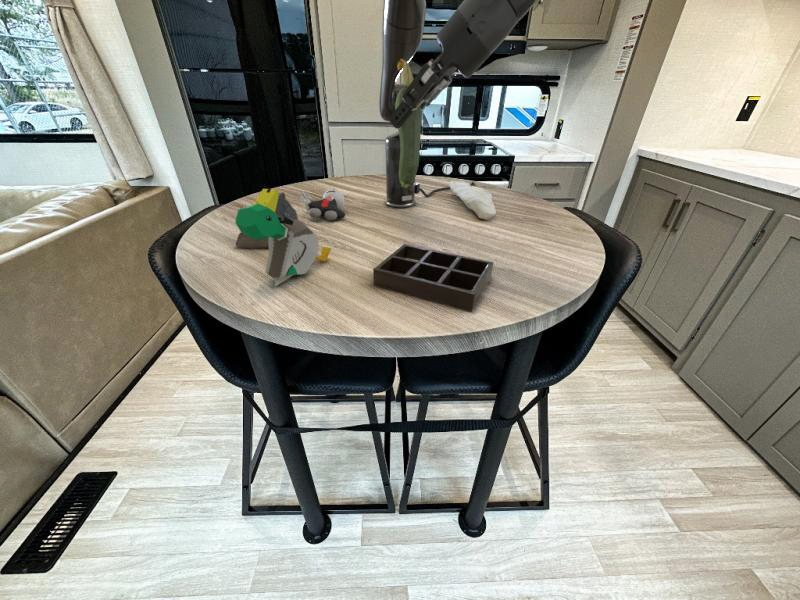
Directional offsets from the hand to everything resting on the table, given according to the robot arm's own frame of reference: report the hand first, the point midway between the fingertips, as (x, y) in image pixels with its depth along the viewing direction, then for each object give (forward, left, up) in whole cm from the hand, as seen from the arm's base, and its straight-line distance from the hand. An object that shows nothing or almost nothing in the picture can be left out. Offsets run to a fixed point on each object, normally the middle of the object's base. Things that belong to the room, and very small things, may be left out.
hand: (397, 122), depth 56 cm
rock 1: (+3, -34, -27) cm, 44 cm away
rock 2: (-48, +4, -27) cm, 55 cm away
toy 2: (-19, -35, -27) cm, 48 cm away
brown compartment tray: (+4, +10, -27) cm, 29 cm away
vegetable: (0, +2, -11) cm, 11 cm away
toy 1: (+13, -17, -27) cm, 35 cm away
